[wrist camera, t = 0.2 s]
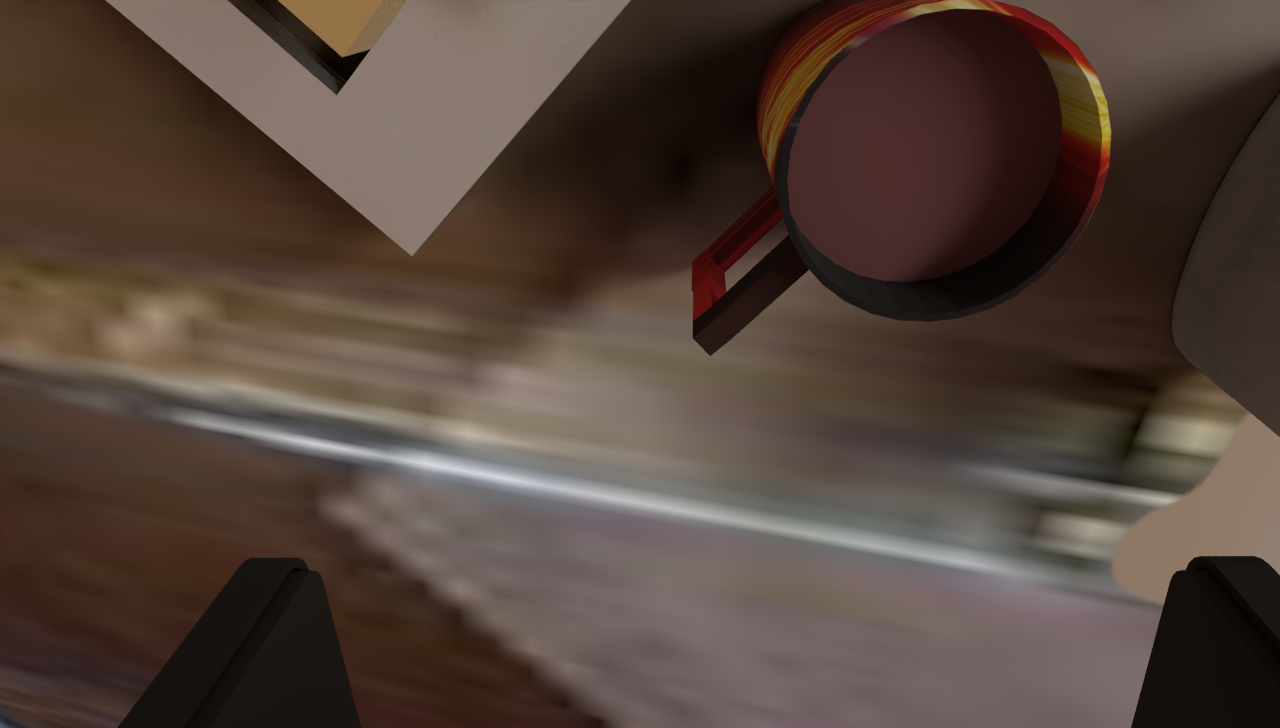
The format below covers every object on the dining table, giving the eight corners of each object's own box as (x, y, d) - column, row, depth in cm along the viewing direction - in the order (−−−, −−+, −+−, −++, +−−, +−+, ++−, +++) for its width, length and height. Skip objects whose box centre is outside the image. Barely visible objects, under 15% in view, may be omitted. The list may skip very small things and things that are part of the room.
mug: (689, 261, 40) (685, 375, 29) (809, -52, 34) (860, -55, 23) (880, 327, 41) (946, 462, 30) (1030, 33, 35) (1179, 68, 24)
